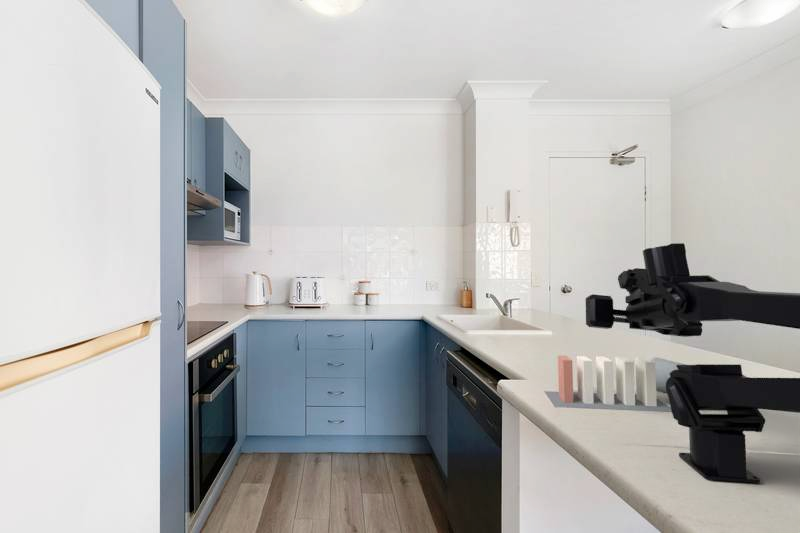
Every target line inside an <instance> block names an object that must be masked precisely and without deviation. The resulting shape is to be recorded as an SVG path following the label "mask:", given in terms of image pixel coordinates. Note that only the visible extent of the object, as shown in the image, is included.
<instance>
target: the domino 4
mask: <svg viewBox="0 0 800 533" xmlns="http://www.w3.org/2000/svg"><path fill="white" fill-rule="evenodd" d="M615 381H616V382H615V384H616V387H615V388H616V389H615V390H616V394H617V399H619V400H620V401H621V402H622V403H624V404H625V405H634V406H635V395H636V391H635V390H636V389H635V388H636V380H635V361H633V360H632V359H629V358H627V357H625V356H615Z"/></svg>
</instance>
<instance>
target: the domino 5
mask: <svg viewBox="0 0 800 533" xmlns="http://www.w3.org/2000/svg"><path fill="white" fill-rule="evenodd" d="M634 360H635V361H634V363H635V388H636V389H635V390H636V391H635V395H637V399H638V400H639V401H641V402H642V403H643V404H645V405H646V406H657V402H656V398H657V390H656V371H655V362H653V361H651V360H652V359H649V358H646V357H643V356H642V357H640V356H639V357H638V356H637V357H635V359H634Z"/></svg>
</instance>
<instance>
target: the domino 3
mask: <svg viewBox="0 0 800 533" xmlns="http://www.w3.org/2000/svg"><path fill="white" fill-rule="evenodd" d="M595 371H596V372H595V373H596V393H597V397H598V398H599V399H600V400H601V401H602V402H603V403H604V404H610V405H614V394H615V386H614V385H615V383H614V379H615V378H614V361H613V360H611V359H610V358H608V357H607V356H600V355H598V356H595Z"/></svg>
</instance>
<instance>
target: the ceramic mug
mask: <svg viewBox="0 0 800 533" xmlns="http://www.w3.org/2000/svg"><path fill="white" fill-rule="evenodd" d="M650 360H651V361H653V362H655V371H656V392H657V391H658V392H661V393H664V394H665V393H666V394H667V390H666V381H667V379H668V378H670V372H671V371H673V370H678V368H677V366H676V365H687V364H685V363H680V362H676V361H672V360H668V359H665V358H661V357H656V356H655V357H653V358H652V359H650Z"/></svg>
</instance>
